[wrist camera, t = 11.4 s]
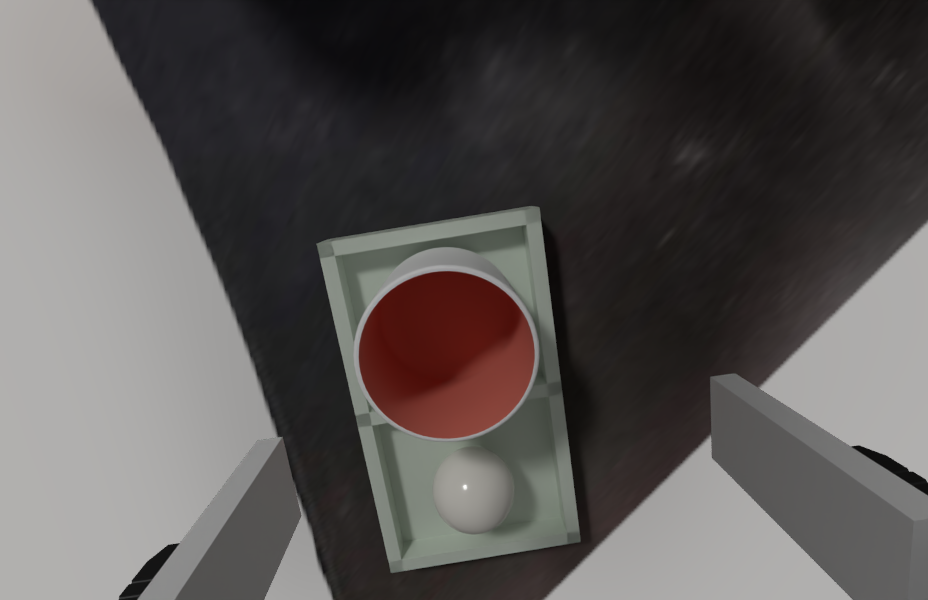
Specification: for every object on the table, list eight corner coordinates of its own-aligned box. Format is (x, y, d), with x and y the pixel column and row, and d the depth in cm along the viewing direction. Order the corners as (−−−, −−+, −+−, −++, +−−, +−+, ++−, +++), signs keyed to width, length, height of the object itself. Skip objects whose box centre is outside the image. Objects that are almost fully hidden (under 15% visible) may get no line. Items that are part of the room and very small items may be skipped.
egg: (427, 438, 38) (423, 483, 32) (503, 425, 38) (513, 468, 32) (440, 505, 39) (439, 560, 33) (514, 493, 39) (525, 546, 33)
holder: (328, 239, 36) (316, 243, 32) (531, 206, 36) (539, 207, 32) (395, 544, 41) (391, 573, 38) (570, 515, 41) (580, 541, 38)
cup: (511, 239, 35) (536, 257, 25) (518, 371, 37) (543, 435, 27) (371, 250, 35) (341, 272, 25) (386, 382, 37) (364, 450, 27)
